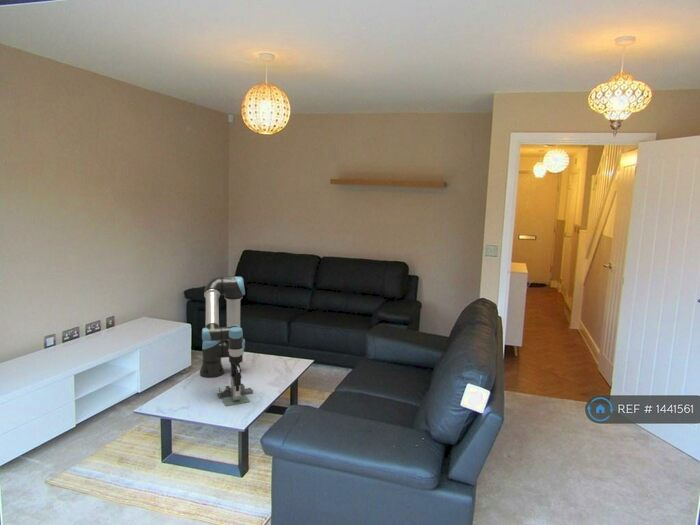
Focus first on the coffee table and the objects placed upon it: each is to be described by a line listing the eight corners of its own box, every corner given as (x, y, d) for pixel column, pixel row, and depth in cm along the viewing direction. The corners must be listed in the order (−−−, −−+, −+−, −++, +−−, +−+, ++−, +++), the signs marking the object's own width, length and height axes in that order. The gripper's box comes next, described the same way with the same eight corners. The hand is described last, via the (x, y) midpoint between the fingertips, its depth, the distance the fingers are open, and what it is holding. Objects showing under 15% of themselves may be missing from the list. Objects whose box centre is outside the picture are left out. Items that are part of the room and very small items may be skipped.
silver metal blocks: (217, 395, 287) (217, 386, 286) (250, 390, 296) (250, 381, 296) (219, 399, 283) (219, 389, 282) (253, 393, 292) (253, 384, 291)
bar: (230, 397, 282) (230, 374, 280) (239, 396, 284) (239, 373, 282) (232, 401, 277) (232, 377, 275) (241, 399, 280) (241, 376, 278)
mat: (221, 400, 281) (221, 399, 281) (245, 395, 288) (245, 395, 288) (225, 406, 274) (225, 405, 274) (250, 402, 280) (250, 401, 280)
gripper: (225, 351, 283) (225, 389, 286) (233, 360, 267) (233, 401, 271) (238, 349, 286) (238, 387, 290) (246, 359, 271) (246, 399, 274)
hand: (235, 394), depth 280 cm, fingers closed on bar, 4 cm apart
